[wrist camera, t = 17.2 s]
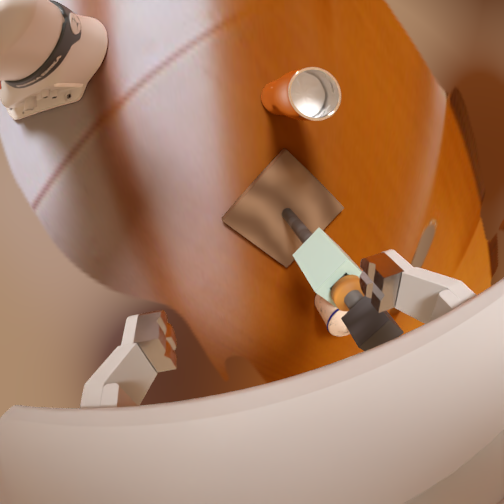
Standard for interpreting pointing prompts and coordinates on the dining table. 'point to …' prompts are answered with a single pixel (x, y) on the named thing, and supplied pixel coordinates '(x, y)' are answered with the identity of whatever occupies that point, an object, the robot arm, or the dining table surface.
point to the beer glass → (303, 95)
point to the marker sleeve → (324, 263)
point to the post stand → (304, 237)
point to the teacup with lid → (331, 316)
